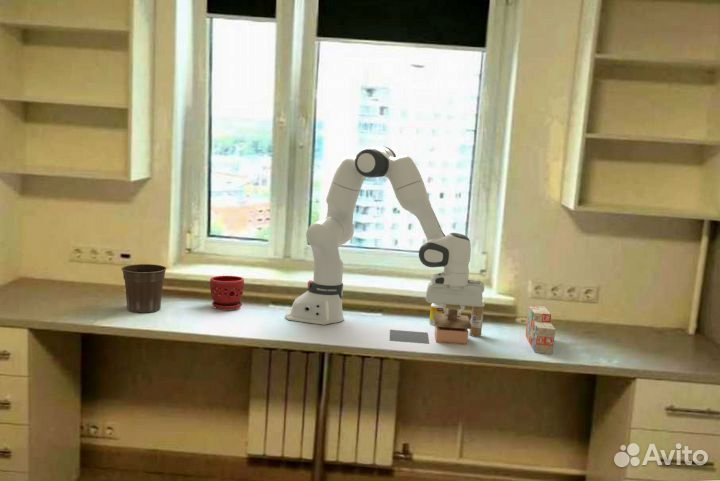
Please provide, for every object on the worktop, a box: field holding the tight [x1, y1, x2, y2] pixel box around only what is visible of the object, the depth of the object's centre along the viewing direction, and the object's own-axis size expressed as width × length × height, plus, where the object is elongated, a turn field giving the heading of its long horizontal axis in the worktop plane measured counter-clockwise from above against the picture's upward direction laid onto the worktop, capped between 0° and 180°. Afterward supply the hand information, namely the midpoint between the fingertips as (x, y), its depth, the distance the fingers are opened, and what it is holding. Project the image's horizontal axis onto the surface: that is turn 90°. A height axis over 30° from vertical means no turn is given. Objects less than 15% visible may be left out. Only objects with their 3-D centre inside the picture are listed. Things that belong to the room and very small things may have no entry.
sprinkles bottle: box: [468, 299, 486, 338], centre depth 263 cm, size 5×5×13 cm
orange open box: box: [434, 326, 469, 346], centre depth 255 cm, size 11×11×5 cm
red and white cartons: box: [525, 304, 556, 355], centre depth 256 cm, size 21×6×12 cm, turn 176°
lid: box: [434, 307, 471, 330], centre depth 254 cm, size 12×12×5 cm
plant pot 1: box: [121, 263, 167, 314], centre depth 267 cm, size 16×16×16 cm
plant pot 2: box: [209, 275, 245, 311], centre depth 278 cm, size 13×13×12 cm
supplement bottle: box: [428, 303, 444, 327], centre depth 273 cm, size 6×6×10 cm
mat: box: [389, 329, 430, 345], centre depth 255 cm, size 14×14×1 cm
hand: (452, 316), depth 254 cm, fingers closed on lid, 3 cm apart
